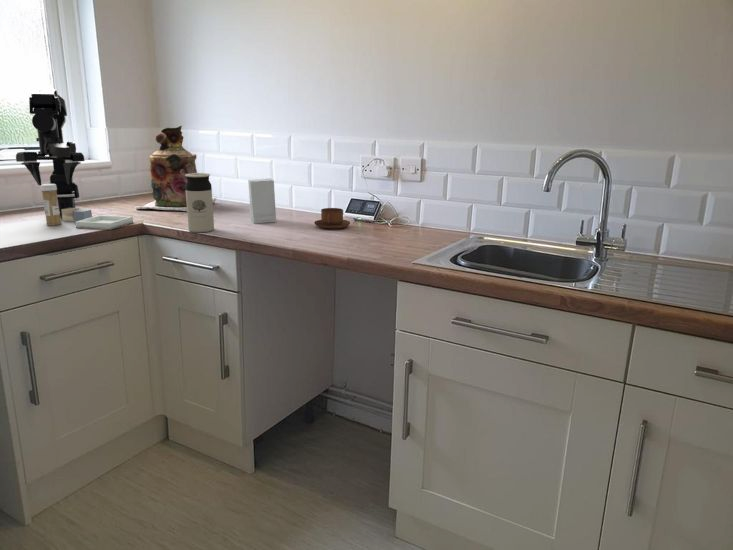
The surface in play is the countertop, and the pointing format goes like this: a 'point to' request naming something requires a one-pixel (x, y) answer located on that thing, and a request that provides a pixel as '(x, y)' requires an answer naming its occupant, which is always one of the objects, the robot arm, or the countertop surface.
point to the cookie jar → (170, 171)
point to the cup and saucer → (332, 219)
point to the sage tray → (104, 222)
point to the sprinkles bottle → (51, 204)
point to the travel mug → (199, 202)
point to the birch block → (68, 214)
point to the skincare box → (262, 200)
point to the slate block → (82, 214)
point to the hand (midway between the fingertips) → (54, 184)
